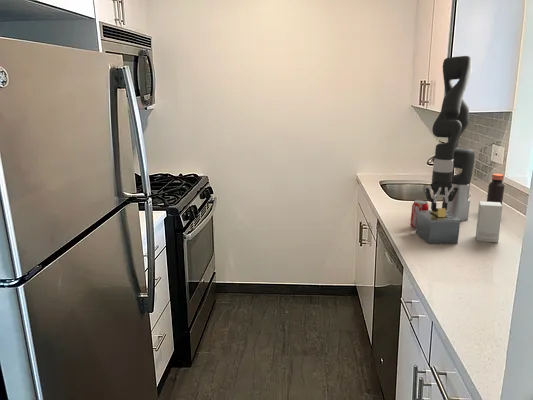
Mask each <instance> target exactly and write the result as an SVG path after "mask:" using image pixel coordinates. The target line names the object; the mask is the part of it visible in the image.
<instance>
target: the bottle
mask: <svg viewBox="0 0 533 400" xmlns="http://www.w3.org/2000/svg"><path fill="white" fill-rule="evenodd" d="M503 181H504V174H502V173H492V174H491V182H489V184H488V187H487V189H488V190H487V195H486V202H500V203H501V205H502V206H503V199H504V191H505V184H504V183H503Z"/></svg>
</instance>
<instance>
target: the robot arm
mask: <svg viewBox="0 0 533 400" xmlns="http://www.w3.org/2000/svg"><path fill="white" fill-rule="evenodd" d="M472 60H473V59H472V58H471V56H469V55H462V56H460V55H459V56H450V57H449V56H448V57H446V58H445V59H444V60H443V61H442V77H443V84H444V91H445V96H444V97H443V100H442V104H441V107H440V112H439V113H438V116H437V118H436V119H435V121H434V122H433V124H432V130H431V132H432V134H433V135H434V137H437V138H447V142H441V143H437V144H436V145H435V150H434V152H435V153H434V161H433V165H432V173H431V174H432V175H431V176H432V177H431V184H430V185H429V186H424V187H423V190H424V195H425V197H426V201H427V202H430V203H431V204H430V210H432V211H433V212H436V208H437V205H438V204H437V201H438V199H439V196H441V197H442V202H441V208H446V211H447V212H449V213H450V214H452V215H454V216H455V217H457V218H458V219H460V222H462V221H468V220H469V215H470V205H471V200H470V199H469V198H470V190H471V189H470V188H471V181H472V176H473V169H474V164H475V158H476V156H475V155H476V154H475V151H474V150H473V149H469V148H463V147H460V148H459V139H460V137H461V136H462V134H463V133H464V131H465V130H466V129H467V127H468V125H469V123H470V107H469V106H468V103H467V102H466V100H465V99H464V98H463V97H464V94H465V92H466V90H467V86H468V83H469V81H470V78H471V75H472V71H473V61H472ZM455 80H458V81H456V83H454V81H455ZM454 169H461V172H459V174H453V172H454ZM431 191H432V194H431Z"/></svg>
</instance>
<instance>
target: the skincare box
mask: <svg viewBox="0 0 533 400" xmlns="http://www.w3.org/2000/svg"><path fill="white" fill-rule="evenodd" d="M477 211H478V212H477V221H476V229H475V239H476V241H477V242H486V243H487V242H488V243H499V239H500V231H501V222H502V221H501V220H502V212H503V204H502V205H501V203H500V202H487V201H484V200H480V201H478V209H477Z"/></svg>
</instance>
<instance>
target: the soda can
mask: <svg viewBox="0 0 533 400" xmlns="http://www.w3.org/2000/svg"><path fill="white" fill-rule="evenodd" d="M428 203H429V201H428V200H422V199H416V200H415V199H414V201H413V203H412V204H411V214H410V227H412V228H413V229H415V230H416V222H417V211H418V210H429V208H430V206H429V204H428Z"/></svg>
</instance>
